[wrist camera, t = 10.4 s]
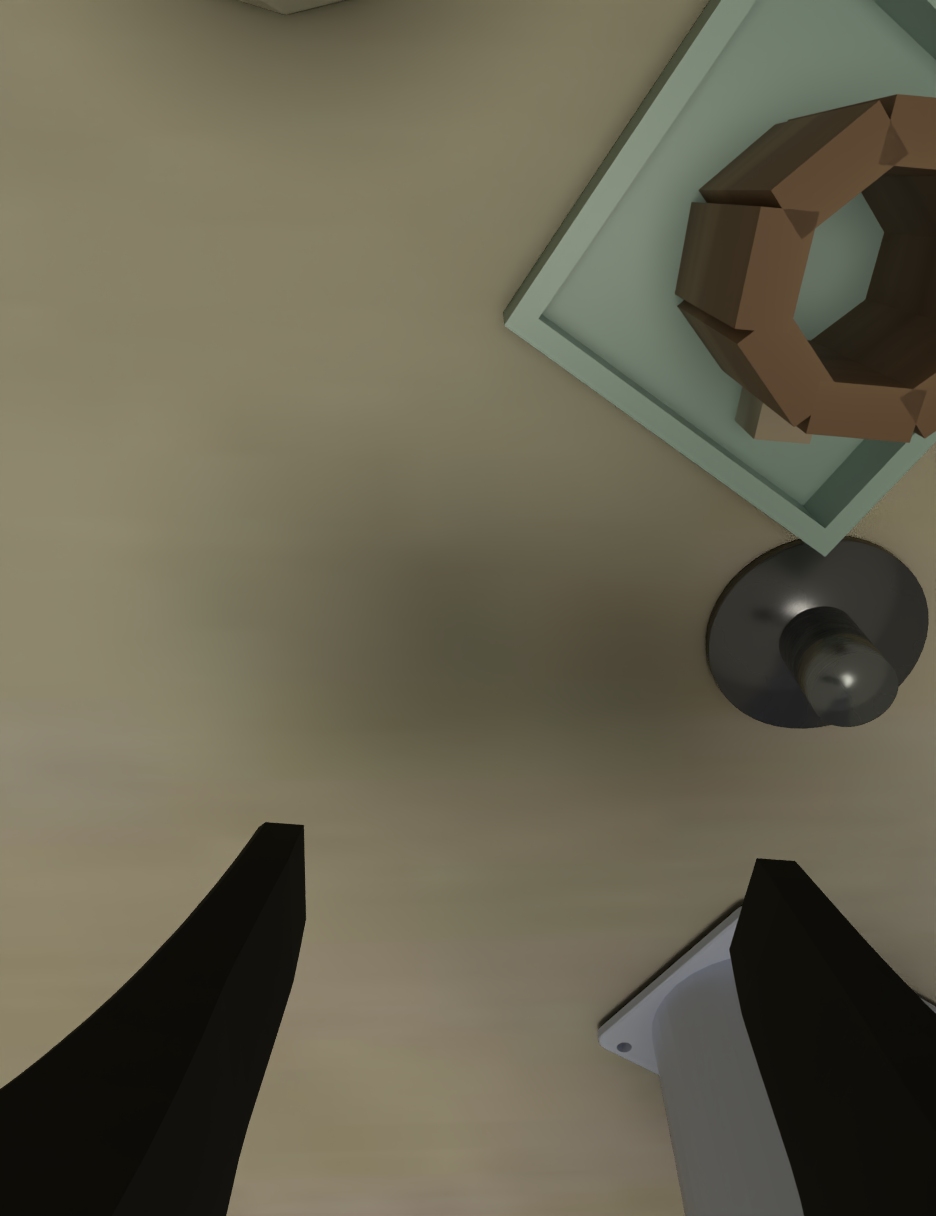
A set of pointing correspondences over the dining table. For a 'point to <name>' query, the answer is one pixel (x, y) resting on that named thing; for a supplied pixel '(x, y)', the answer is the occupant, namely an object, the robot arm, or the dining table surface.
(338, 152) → the dining table surface
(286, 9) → the white cup
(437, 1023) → the dining table surface
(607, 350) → the tray
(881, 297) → the brown hollow octagonal cylinder
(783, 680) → the dark grey round stand
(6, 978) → the dining table surface
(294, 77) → the dining table surface
